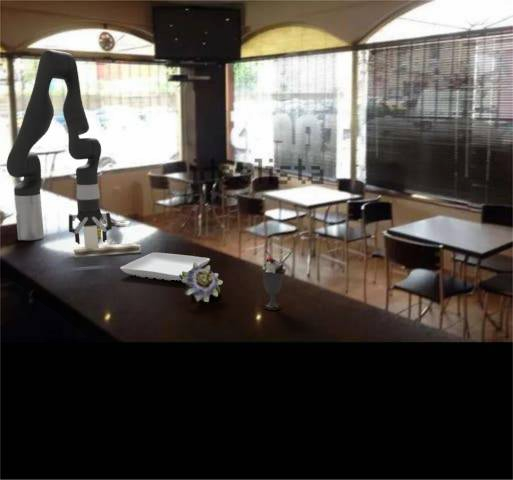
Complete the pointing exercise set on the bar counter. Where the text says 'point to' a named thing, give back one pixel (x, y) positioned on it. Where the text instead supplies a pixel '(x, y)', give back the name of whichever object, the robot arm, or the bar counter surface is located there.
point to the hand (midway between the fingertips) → (91, 242)
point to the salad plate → (163, 265)
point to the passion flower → (201, 282)
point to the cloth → (114, 222)
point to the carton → (91, 237)
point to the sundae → (272, 278)
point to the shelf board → (107, 250)
